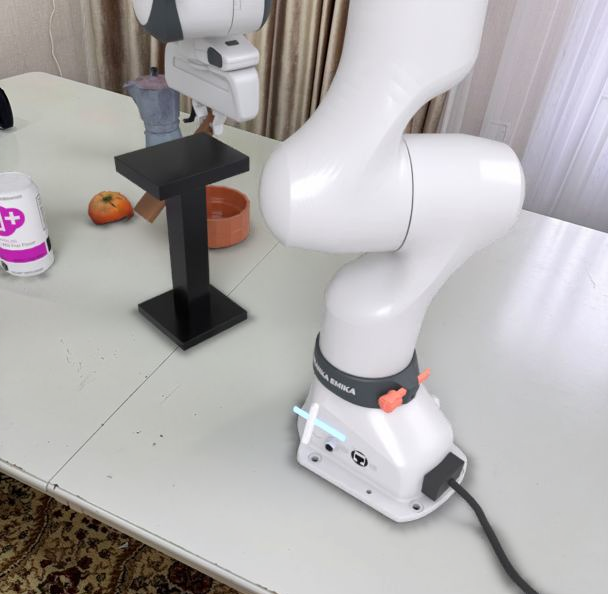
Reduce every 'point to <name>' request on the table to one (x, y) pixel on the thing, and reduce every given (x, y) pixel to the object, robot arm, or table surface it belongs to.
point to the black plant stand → (186, 232)
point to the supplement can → (23, 227)
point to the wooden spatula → (153, 207)
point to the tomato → (109, 207)
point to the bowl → (226, 216)
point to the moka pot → (157, 107)
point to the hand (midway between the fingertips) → (210, 130)
